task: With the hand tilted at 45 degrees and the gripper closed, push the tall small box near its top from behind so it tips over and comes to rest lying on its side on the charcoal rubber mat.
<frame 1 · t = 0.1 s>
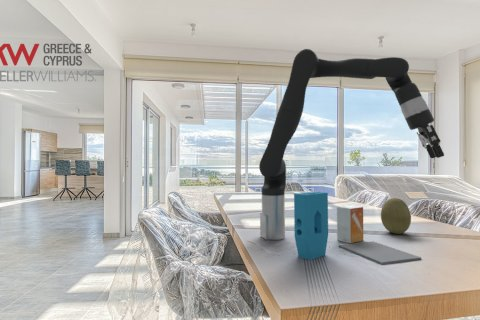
hand: (437, 157, 97), 31 cm above the table, tool tilted 20°, fingers open, 8 cm apart
mat: (377, 252, 97), on the table
block: (311, 256, 94), on the table
fruit: (395, 233, 124), on the table
small box: (350, 241, 113), on the table
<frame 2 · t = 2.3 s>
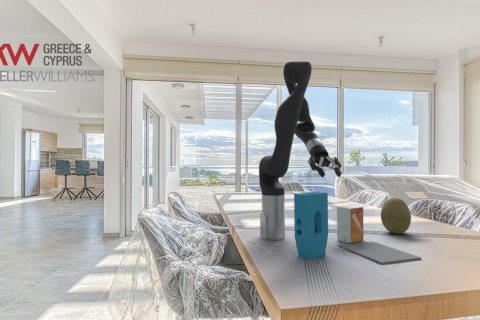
hand: (331, 175, 124), 25 cm above the table, tool tilted 45°, fingers open, 7 cm apart
nothing on the table moved.
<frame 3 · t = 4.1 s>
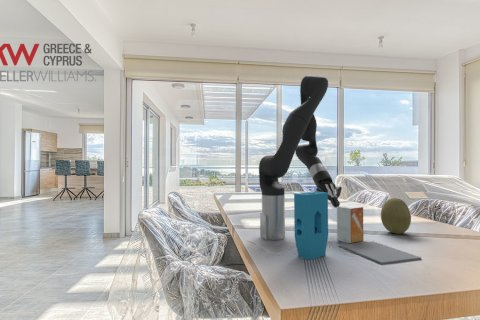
hand: (337, 206, 121), 12 cm above the table, tool tilted 45°, fingers closed
nothing on the table moved.
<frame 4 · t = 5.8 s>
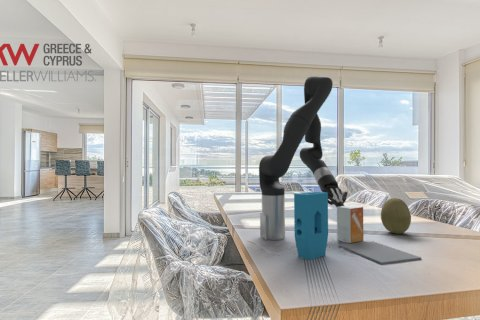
hand: (343, 211, 117), 10 cm above the table, tool tilted 45°, fingers closed
small box: (350, 241, 113), on the table, touching gripper
everything else where it was.
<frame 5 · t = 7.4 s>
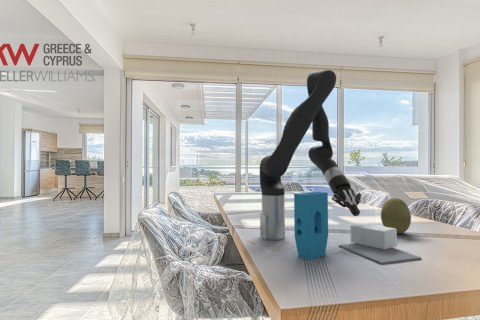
hand: (357, 214, 109), 10 cm above the table, tool tilted 45°, fingers closed
small box: (356, 232, 110), point 4 cm above the table, touching mat
everything else where it was.
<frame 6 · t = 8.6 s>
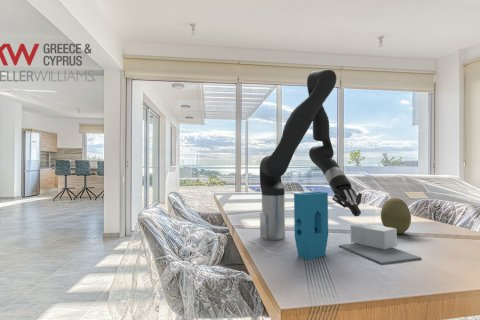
hand: (358, 215, 108), 10 cm above the table, tool tilted 45°, fingers closed
nothing on the table moved.
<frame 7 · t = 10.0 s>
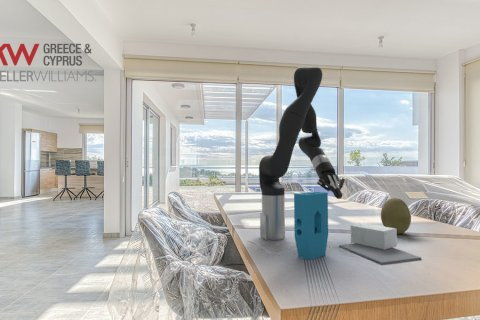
hand: (339, 197, 118), 16 cm above the table, tool tilted 45°, fingers closed
nothing on the table moved.
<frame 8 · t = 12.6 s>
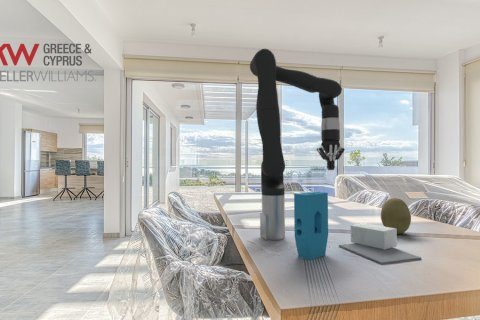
hand: (331, 169, 125), 27 cm above the table, tool pointing down, fingers closed
nothing on the table moved.
at the end: small box tilted 89°; small box touching mat; small box inside the target area (4.5 cm from its centre), point 3.6 cm above the table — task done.
